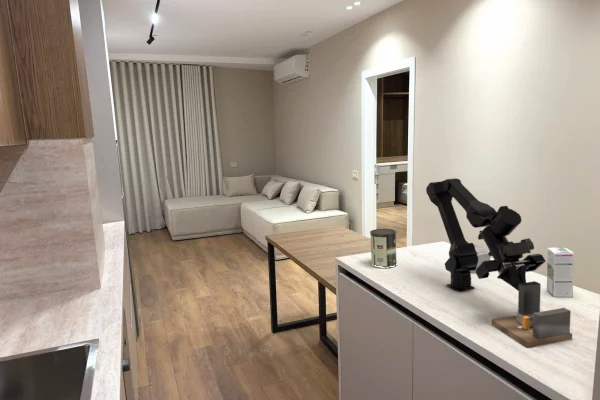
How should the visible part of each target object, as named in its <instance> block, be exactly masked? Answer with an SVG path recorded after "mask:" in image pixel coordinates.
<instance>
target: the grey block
mask: <svg viewBox="0 0 600 400" xmlns="http://www.w3.org/2000/svg"><path fill="white" fill-rule="evenodd" d="M474 246H475V250H476V252H477V253H478V254H477V256H478V263H477V267H476V269H477V268H478V267H479V266H480V265H481V263H482V262H483V261H489V260H491V256H489V255H488V253H489V252H490V250H489V249H486V248H484V246H482V245H481V244H476V245H474ZM470 272H471V275H473V274H475V275H477V274H476V270H475V271H474V270H473V271H470Z"/></svg>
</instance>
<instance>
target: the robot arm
mask: <svg viewBox="0 0 600 400" xmlns="http://www.w3.org/2000/svg"><path fill="white" fill-rule="evenodd" d="M425 189H426V190H425V192H426V194H427V196H428V199H429V201H430V202H431V204H434V206H436V207H437V209H438V212H439V216H440V218H441V221H442V224H443V226H444V229H445V233H446V235H447V237H448V241H449V243H450V246H449V250H448V259H447V260H446V261H445V262H444V267H445V270H446V271H448V272H449V273H450V283H447V284H446V287H448V288H450V289H452V290H454V291H456V292H458V293H459V292H465V291H466V292H467V291H469V290H474V289H475V286H473V285H472V273H471V272H470V271H473V270H474V271H475V270H476V274H475V275H476V276H477V278H478V279H479V280H481V279H486V278H487V279H488V278H489V276H490V273H493V272H497V273H498V275H497V276H496V277H497V279H498V280H501V281H503V282H505V283H506V284H508V285H510V286H511V287H512V288H513V289H515V290H516V291H517V292H519V284H520V283H527V279H526V278H527V277H526V274H527V273H529V272H534V271H536V270H538V269H539V268H540V267H541V266H542V265H543V264H545V263H546V259H545V257H544V256H543V254H540V253H534V254H533V253H532V251H533V250H534V249H535V245H534V243H533V241H532V240H531V239H530V238H524V239H520V242H519V241H518V242H513V241H509V240H508V238H507V237H508V236H510V235H511V233H513V232H514V230H515V229H516V228H517V227H518V226H520V224H521V223H522V216H521V215H520V213H518V211H515V210H513V209H512V208H509V206H508V205H502V206H501V205H500V207H498V210H497V211H496V209H495V208H494V207H493V206H491V205H489V204H488V203H484V202H481V201H480V200H478V199H477V197H475V196H474V195H473V194H472V192H471V191H470V190H468V188H466V187H465V186H464V184H462V181H461V180H460V179H459V178H456V177H455V178H447V179H444V180H441V181H431V182H429V183H428V185H427V186H426V188H425ZM453 199H454V200H455V201H456V202H457V203H458V204H459V205H460V206H461V208H463V209H464V211H465V213H466V216H465V217H466V220H468V222H469V224H470V225H471V227H473V228H477V229H478V228H483V229H482V230H479V232H478V233H479V234H478V236H477V240H479V241H480V240H483V241H484V244H485V245H486V246H487V249H488V250H489V251H490V252H489V253H488V255H489V256H490V257H492V258H493V259H490V260H489V261H483V262H482V263H481V265H480V266H479V267H478V268H477V269H476V267H477V263H478V256H477V254H478V253H477V252H476V250H475V246H476V245H475V244H474V243H473V242H468V241H467V240H466V238H465V236H464V232H463V230H462V227H461V224H460V221H459V219H458V216H457V214H456V211H455V208H454V205H453V202H452V201H453ZM531 253H532V254H531ZM525 254H528V255H527V256H526V257H524V255H525ZM523 257H524V258H523ZM522 258H523V259H522ZM520 259H522V260H520Z"/></svg>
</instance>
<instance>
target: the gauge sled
mask: <svg viewBox="0 0 600 400" xmlns="http://www.w3.org/2000/svg"><path fill="white" fill-rule="evenodd" d="M517 296H518V298H517V300H518V301H517V302H518V303H517V305H518V306H517V312H516V321H517V322H519V323H521V326H522V325H523V316H528V317H530V322H529V327H532V326H533V313H536V312H541V283H540V282H538V281H530V282H529V281H528V282H527V281H526V283H520V284H519V291H518V295H517Z"/></svg>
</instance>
